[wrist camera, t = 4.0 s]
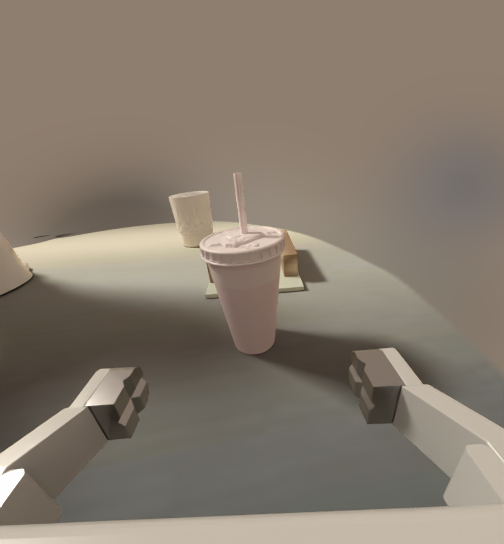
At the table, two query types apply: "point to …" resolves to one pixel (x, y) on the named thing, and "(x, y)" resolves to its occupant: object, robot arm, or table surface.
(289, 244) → the rack
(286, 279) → the mat
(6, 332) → the table surface
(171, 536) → the robot arm
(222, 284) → the smoothie
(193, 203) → the white cup
